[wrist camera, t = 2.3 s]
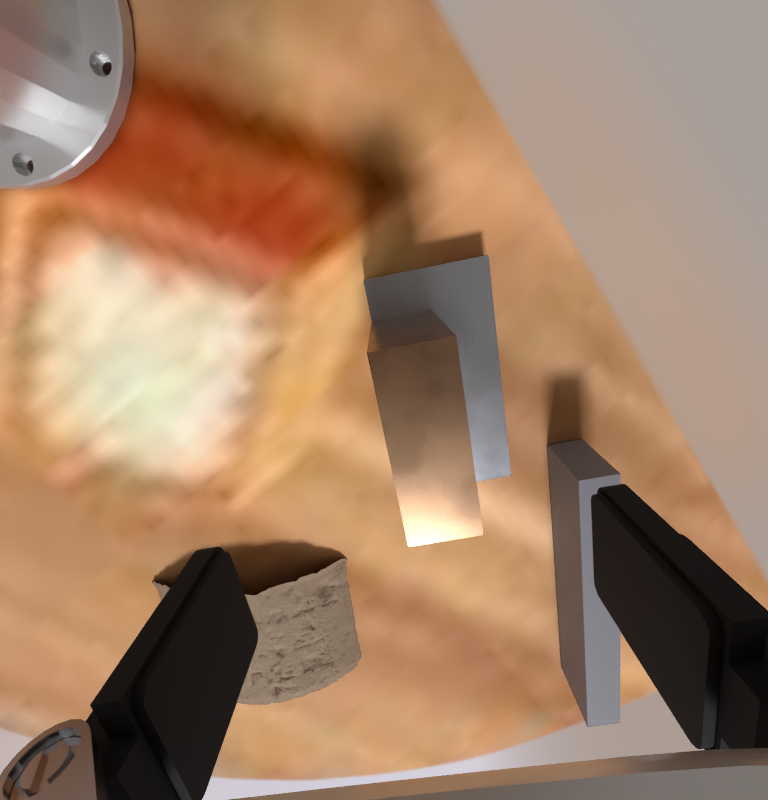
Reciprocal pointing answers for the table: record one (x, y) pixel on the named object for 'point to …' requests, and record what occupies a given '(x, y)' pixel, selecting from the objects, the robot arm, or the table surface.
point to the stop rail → (582, 582)
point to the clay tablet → (300, 637)
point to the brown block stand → (438, 393)
